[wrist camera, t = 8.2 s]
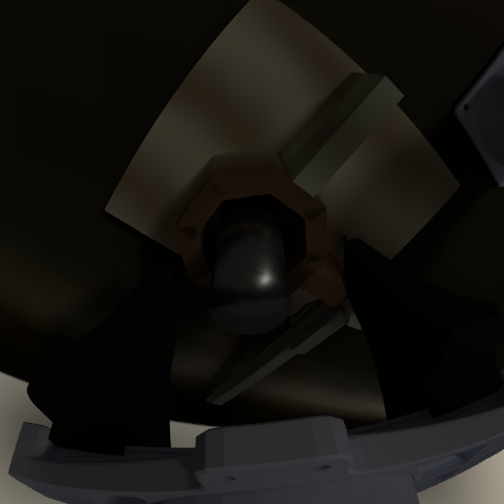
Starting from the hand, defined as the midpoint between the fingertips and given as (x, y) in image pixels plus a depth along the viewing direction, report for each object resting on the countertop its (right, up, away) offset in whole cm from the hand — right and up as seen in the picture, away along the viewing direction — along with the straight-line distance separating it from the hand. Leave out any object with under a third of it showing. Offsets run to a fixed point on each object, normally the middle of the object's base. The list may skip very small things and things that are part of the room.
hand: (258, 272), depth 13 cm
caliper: (+1, -6, +12) cm, 13 cm away
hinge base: (+2, +5, +6) cm, 8 cm away
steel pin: (0, +3, +5) cm, 6 cm away
